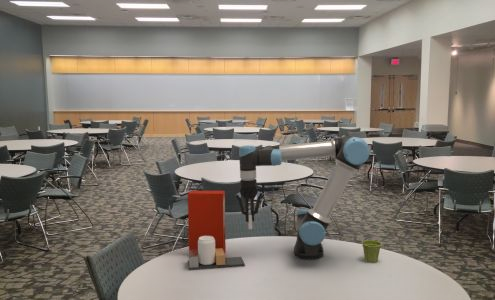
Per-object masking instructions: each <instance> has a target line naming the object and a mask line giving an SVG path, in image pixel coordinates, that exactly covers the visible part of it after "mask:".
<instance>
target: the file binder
mask: <svg viewBox="0 0 495 300" xmlns="http://www.w3.org/2000/svg"><path fill="white" fill-rule="evenodd" d="M187 216H188V217H187V219H188V221H187V222H188V223H187V225H188V226H187V227H188V251H189V250H197V252H198V240H199V237H201V236H213V237H214V239H215V249H218V248H223V251H224V254H225V255H226V254H227V253H226V251H227V250H226V248H227V247H226V245H227V244H226V191H225V190H190V191H189V192H188V193H187Z"/></svg>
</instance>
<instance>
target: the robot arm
mask: <svg viewBox="0 0 495 300" xmlns="http://www.w3.org/2000/svg"><path fill="white" fill-rule="evenodd" d="M238 150H239V154H238V157H239V178H240V189H239V192H238V193H236V194H234V195H235V198H236V199H237V203H238V205H239V209H240V212H241V215H244V216H245V222H246V223H247V228H248V230H253V222H255V215H257V214H258V213H259V209H260V204H261V198H262V197H263V193H262V192H261V191H259V190H258V187H257V184H258V183H257V167H270V166H271V167H275V166H280V165H282V163H283V161H293V160H305V159H315V158H326V157H327V158H329V157H332V159H333V158H334V159H335V162H336V164H335V166H334V168H333V170H332V171H331V173H330V175H329V177H328V179H327V181H326V182H325V185H324V187H322V190H321V192H320V194H319V196H318V197H317V200H316V202H315V203H314V204H313V207H312V208H300V209H297V211H296V240H295V241H296V242H295V244H294V247H293V252H292V254H293V256H294V257H296V258H298V259H302V260H318V259H322V258H323V257H324V255H325V253H324V252H325V250H324V247H323V243H322V242H324V240H325V237H326V234H327V233H326V230H327V229H328V227H329V225H330V223H331V219H330V217H331V214H333V211H334V209H335V208H336V206H337V204H338V202H339V201H340V199H341V196H342V195H343V192H344V191H345V189H346V187H347V185H348V183H349V181H350V180H351V178H352V176H353V174H354V173H355V172H359V170H360V168H361V167H362V164H364V163H365V162H366V161H368V159H369V157H370V153H371V152H370V151H371V150H370V146H369V144H368V142H367V141H366V140H364V139H363V138H361V137H359V136H355V135H347V136H342V137H335V138H331V140H326V141H314V142H313V141H312V142H304V143H303V142H302V143H301V142H300V143H294V144H280V145H273V146H272V145H266V146H264V147H262V149H257V148H256V146H255V145H241V146H240V147H239V149H238ZM256 196H257V197H256ZM241 197H243V198H244V205H243V201H242V199H241ZM255 197H256V201H255V200H254V199H255ZM249 201H250V204H249ZM254 201H255V204H254ZM249 205H250V213H249Z"/></svg>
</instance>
